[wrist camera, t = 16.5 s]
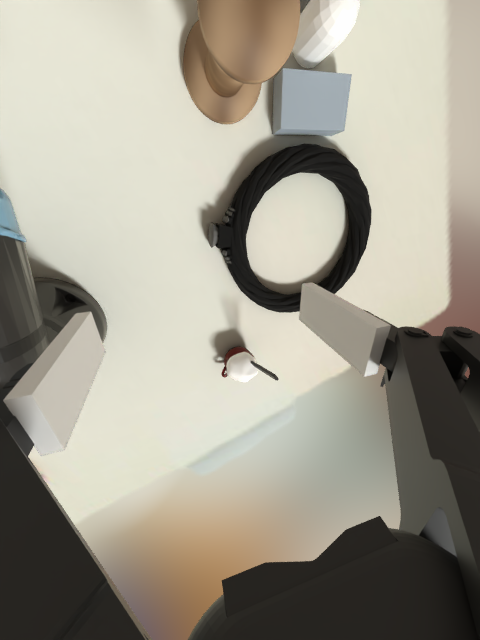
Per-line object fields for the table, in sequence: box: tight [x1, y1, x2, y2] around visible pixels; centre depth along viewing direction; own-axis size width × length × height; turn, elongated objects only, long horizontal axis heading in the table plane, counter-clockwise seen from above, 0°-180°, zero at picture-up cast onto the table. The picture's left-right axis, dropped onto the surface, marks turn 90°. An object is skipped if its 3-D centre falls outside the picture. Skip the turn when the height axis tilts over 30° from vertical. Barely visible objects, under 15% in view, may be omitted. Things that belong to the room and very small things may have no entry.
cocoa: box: [222, 347, 278, 382], centre depth 45 cm, size 10×6×12 cm, turn 104°
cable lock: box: [208, 144, 371, 312], centre depth 41 cm, size 28×4×30 cm
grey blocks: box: [272, 68, 352, 136], centre depth 30 cm, size 10×20×3 cm, turn 2°
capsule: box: [292, 0, 360, 68], centre depth 28 cm, size 5×5×8 cm
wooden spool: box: [183, 0, 300, 124], centre depth 25 cm, size 10×10×12 cm
